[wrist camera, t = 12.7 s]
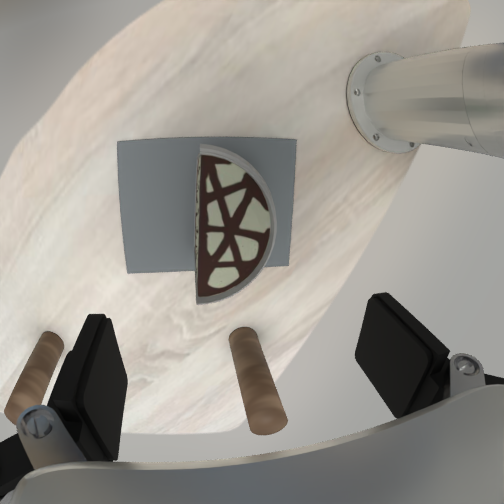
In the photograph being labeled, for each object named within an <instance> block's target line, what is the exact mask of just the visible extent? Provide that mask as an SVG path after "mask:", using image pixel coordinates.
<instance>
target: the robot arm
mask: <svg viewBox="0 0 504 504" xmlns="http://www.w3.org/2000/svg"><path fill="white" fill-rule="evenodd" d="M354 92H355V94H354ZM347 100H348V107H349V110H350V114H351V117H352V119H353V121H354V124H355V125H356V127H357V129H358V130H359V132H360V133H361V134H362V136H363V137H364V138H365V139H366V140H367V141H368V142H369V143H371V144H372V145H373V146H374V147H376V148H378V149H380V150H382V151H386V152H389V153H397V154H398V153H406V152H409V151H412V150H413V149H415V148H417V147H418V146H419V145H420V144H429V145H436V146H442V147H448V148H454V149H460V150H465V151H471V152H476V153H481V154H486V155H490V156H495V157H500V158H504V43H496V44H487V45H478V46H472V47H464V48H457V49H450V50H445V51H439V52H434V53H428V54H424V55H419V56H414V57H410V58H404V57H402V56H400V55H398V54H395V53H391V52H377V53H373V54H370V55H368V56H365V57H364V58H363V59H361V60H360V61H359V62H358V63H357V64H356V65H355V67H354V68H353V70H352V72H351V74H350V77H349V81H348V86H347ZM449 352H450V350H449V349H448V348H446V346H445V345H444V344H443V343H442V342H440V341H439V340H438V339H437V338H436V337H435V336H434V335H433V334H432V333H431V332H430V331H429V330H428V329H427V328H426V327H425V326H424V325H423V324H422V323H420V322H419V321H418V320H417V319H416V318H415V317H414V316H413V315H412V314H411V313H410V312H409V311H408V310H406V309H405V308H404V307H403V306H402V305H401V304H400V303H399V302H398V301H397V300H395V299H394V298H393V297H392V296H391V295H390V294H389V293H386V292H385V293H378V294H373V295H372V297H371V298H370V299H369V300H368V303H367V307H366V312H365V315H364V320H363V324H362V328H361V332H360V336H359V339H358V343H357V347H356V351H355V359H356V361H357V363H358V364H359V365H360V367H361V368H362V370H363V371H364V373H365V374H366V376H367V377H368V378H369V380H370V381H371V383H372V384H373V385H374V387H375V389H376V390H377V392H378V393H379V395H380V396H381V397H382V399H383V400H384V402H385V403H386V405H387V406H388V408H389V409H390V411H391V412H392V414H393V415H394V417H395V418H397V419H396V420H393V421H390V422H388V423H385V424H382V425H379V426H376V427H373V428H370V429H367V430H364V431H360V432H357V433H354V434H350V435H347V436H343V437H340V438H337V439H332V440H329V441H325V442H321V443H317V444H312V445H308V446H303V447H299V448H294V449H289V450H283V451H278V452H272V453H266V454H260V455H253V456H246V457H238V458H229V459H219V460H207V461H190V462H159V463H158V462H157V463H155V462H154V463H153V462H151V463H149V462H148V463H147V462H145V463H144V462H113V460H115V461H116V460H117V459H118V453H119V443H120V435H121V427H122V419H123V411H124V404H125V398H126V391H127V384H128V380H127V374H126V371H125V368H124V365H123V361H122V358H121V354H120V351H119V347H118V344H117V340H116V336H115V332H114V328H113V324H112V321H111V319H110V318H106V316H105V314H89V315H88V316H87V318H86V320H85V323H84V325H83V327H82V329H81V331H80V334H79V336H78V338H77V340H76V343H75V345H74V347H73V350H72V351H69V352H68V354H67V356H66V358H65V360H64V363H63V365H62V367H61V370H60V372H59V375H58V377H57V380H56V382H55V385H54V388H53V390H52V393H51V396H50V398H49V401H48V404H47V406H45V405H34V406H31V407H29V408H27V409H26V410H24V411H23V412H22V413H21V414H20V416H19V418H18V420H17V425H16V428H17V432H18V433H17V434H15V435H13V436H11V437H10V438H8V439H6V440H4V441H2V442H0V504H504V378H500V377H496V376H492V375H487V374H484V371H483V367H482V364H481V363H480V362H479V361H478V360H477V359H476V358H475V357H473V356H471V355H468V354H464V353H459V354H456V355H453V356H452V357H451V359H450V360H449V359H448V358H447V357H448V354H449Z"/></svg>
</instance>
